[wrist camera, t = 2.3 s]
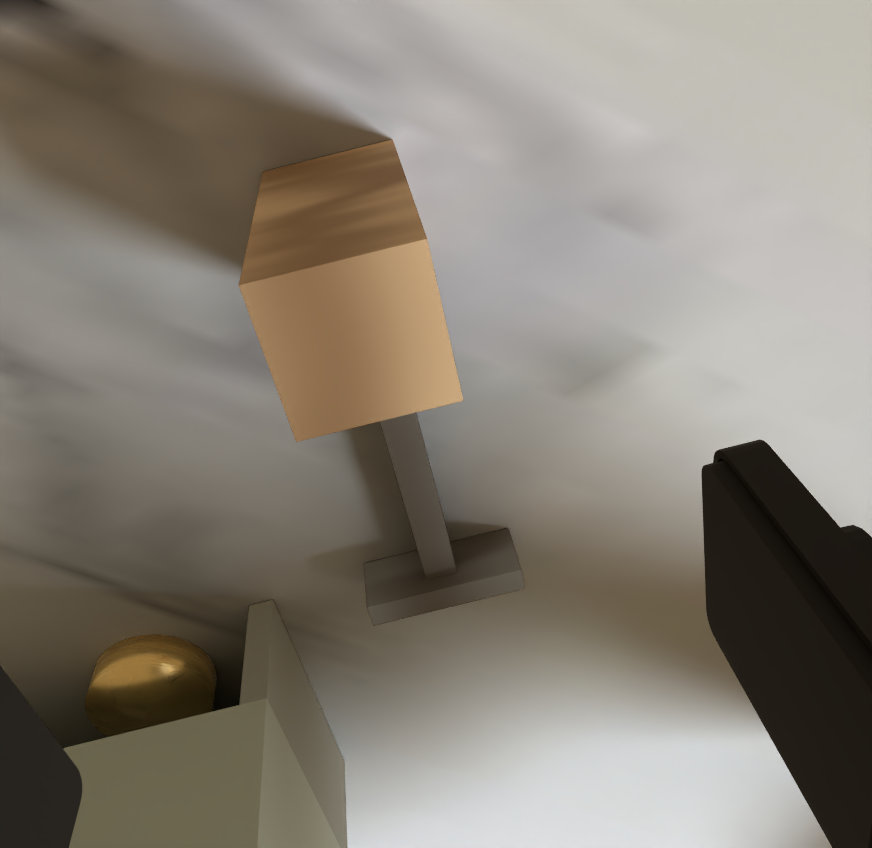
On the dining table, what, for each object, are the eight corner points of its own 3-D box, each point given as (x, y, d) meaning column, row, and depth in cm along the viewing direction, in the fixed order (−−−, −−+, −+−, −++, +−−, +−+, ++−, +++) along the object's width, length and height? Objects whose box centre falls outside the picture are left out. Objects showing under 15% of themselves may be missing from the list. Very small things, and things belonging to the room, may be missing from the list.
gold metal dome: (192, 619, 34) (186, 652, 32) (233, 696, 36) (229, 731, 35) (75, 647, 34) (63, 682, 32) (124, 722, 36) (115, 757, 35)
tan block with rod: (424, 131, 24) (474, 227, 17) (511, 546, 33) (569, 730, 26) (230, 179, 24) (192, 297, 17) (369, 581, 33) (385, 775, 26)
